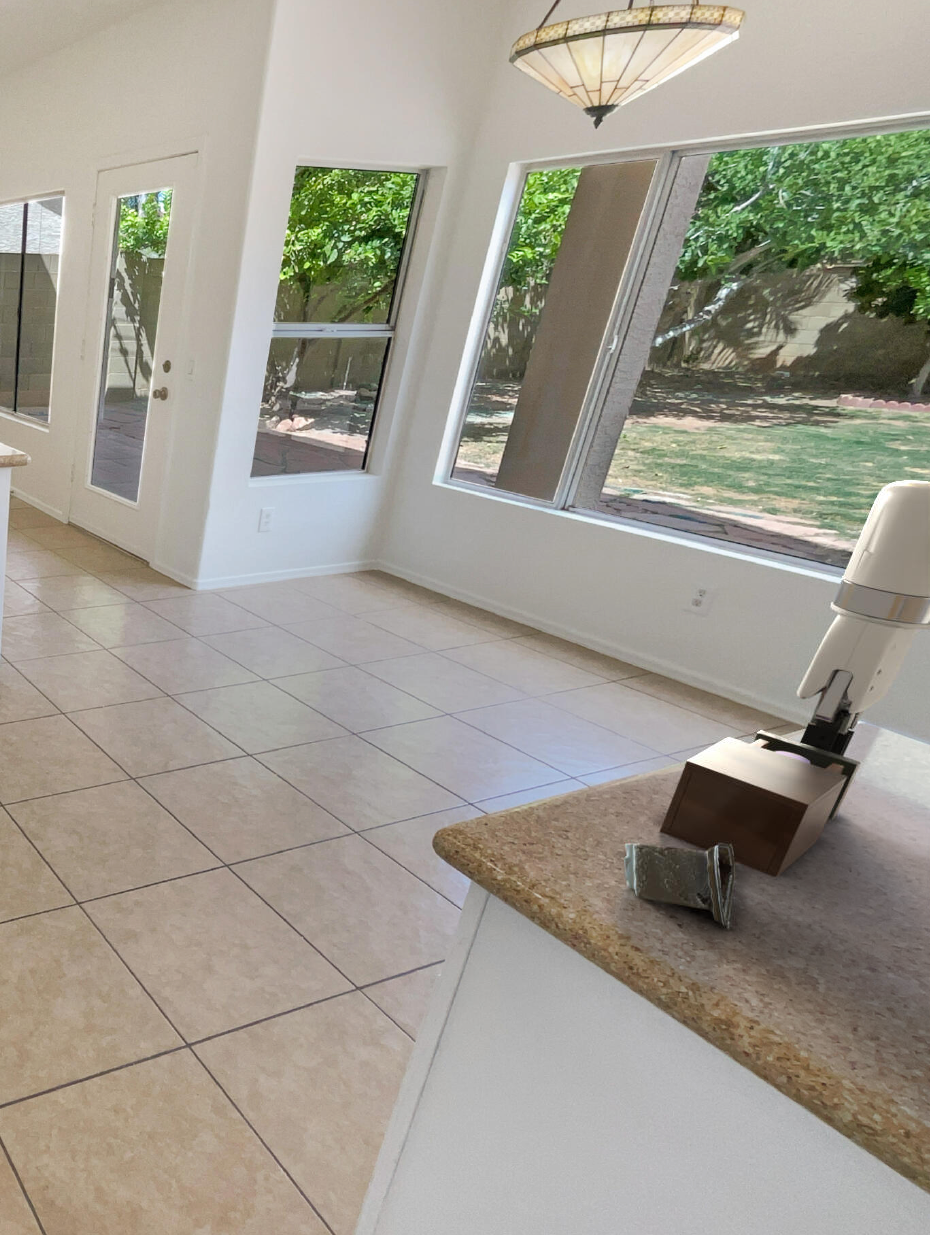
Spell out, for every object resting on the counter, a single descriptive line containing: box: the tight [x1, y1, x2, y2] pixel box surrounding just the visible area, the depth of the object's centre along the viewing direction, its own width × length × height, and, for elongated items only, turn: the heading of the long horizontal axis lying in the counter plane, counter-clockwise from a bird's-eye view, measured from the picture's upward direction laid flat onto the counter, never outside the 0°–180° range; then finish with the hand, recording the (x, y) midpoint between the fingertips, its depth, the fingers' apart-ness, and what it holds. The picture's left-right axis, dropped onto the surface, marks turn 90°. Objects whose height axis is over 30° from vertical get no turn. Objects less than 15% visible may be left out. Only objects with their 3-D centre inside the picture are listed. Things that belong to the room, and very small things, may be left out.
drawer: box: [751, 730, 862, 820], centre depth 88 cm, size 14×8×7 cm, turn 120°
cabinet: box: [659, 736, 847, 878], centre depth 84 cm, size 10×9×8 cm
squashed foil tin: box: [623, 843, 736, 930], centre depth 77 cm, size 10×7×12 cm
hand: (817, 758), depth 93 cm, fingers closed
